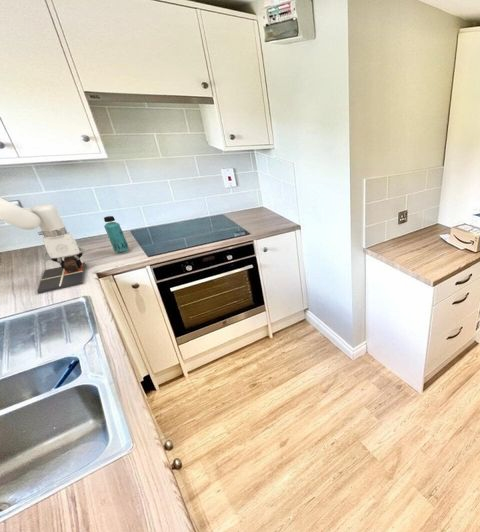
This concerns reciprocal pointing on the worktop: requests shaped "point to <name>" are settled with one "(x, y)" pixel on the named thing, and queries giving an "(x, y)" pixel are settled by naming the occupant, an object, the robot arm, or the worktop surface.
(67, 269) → the brick
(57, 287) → the board
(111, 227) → the beverage bottle
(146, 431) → the worktop surface
